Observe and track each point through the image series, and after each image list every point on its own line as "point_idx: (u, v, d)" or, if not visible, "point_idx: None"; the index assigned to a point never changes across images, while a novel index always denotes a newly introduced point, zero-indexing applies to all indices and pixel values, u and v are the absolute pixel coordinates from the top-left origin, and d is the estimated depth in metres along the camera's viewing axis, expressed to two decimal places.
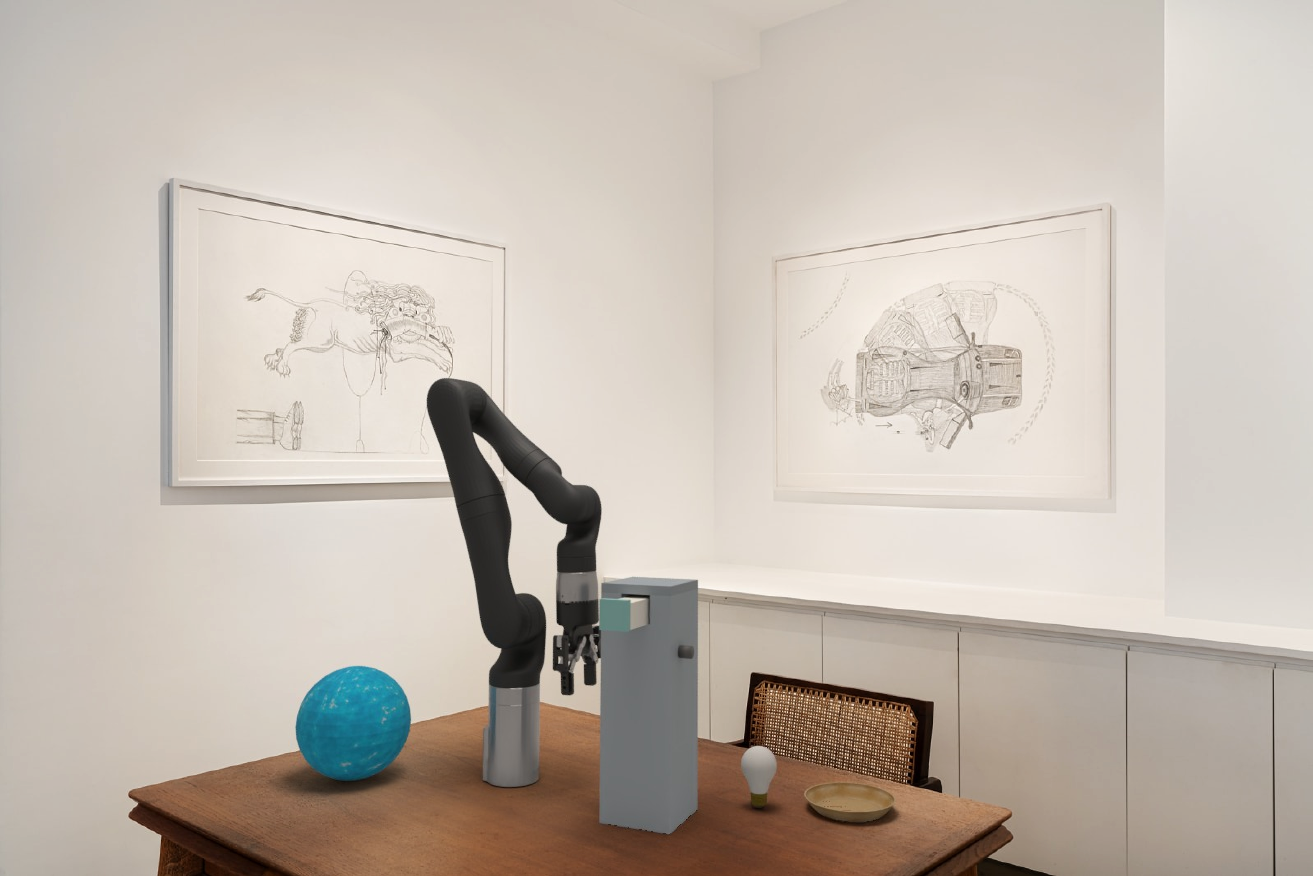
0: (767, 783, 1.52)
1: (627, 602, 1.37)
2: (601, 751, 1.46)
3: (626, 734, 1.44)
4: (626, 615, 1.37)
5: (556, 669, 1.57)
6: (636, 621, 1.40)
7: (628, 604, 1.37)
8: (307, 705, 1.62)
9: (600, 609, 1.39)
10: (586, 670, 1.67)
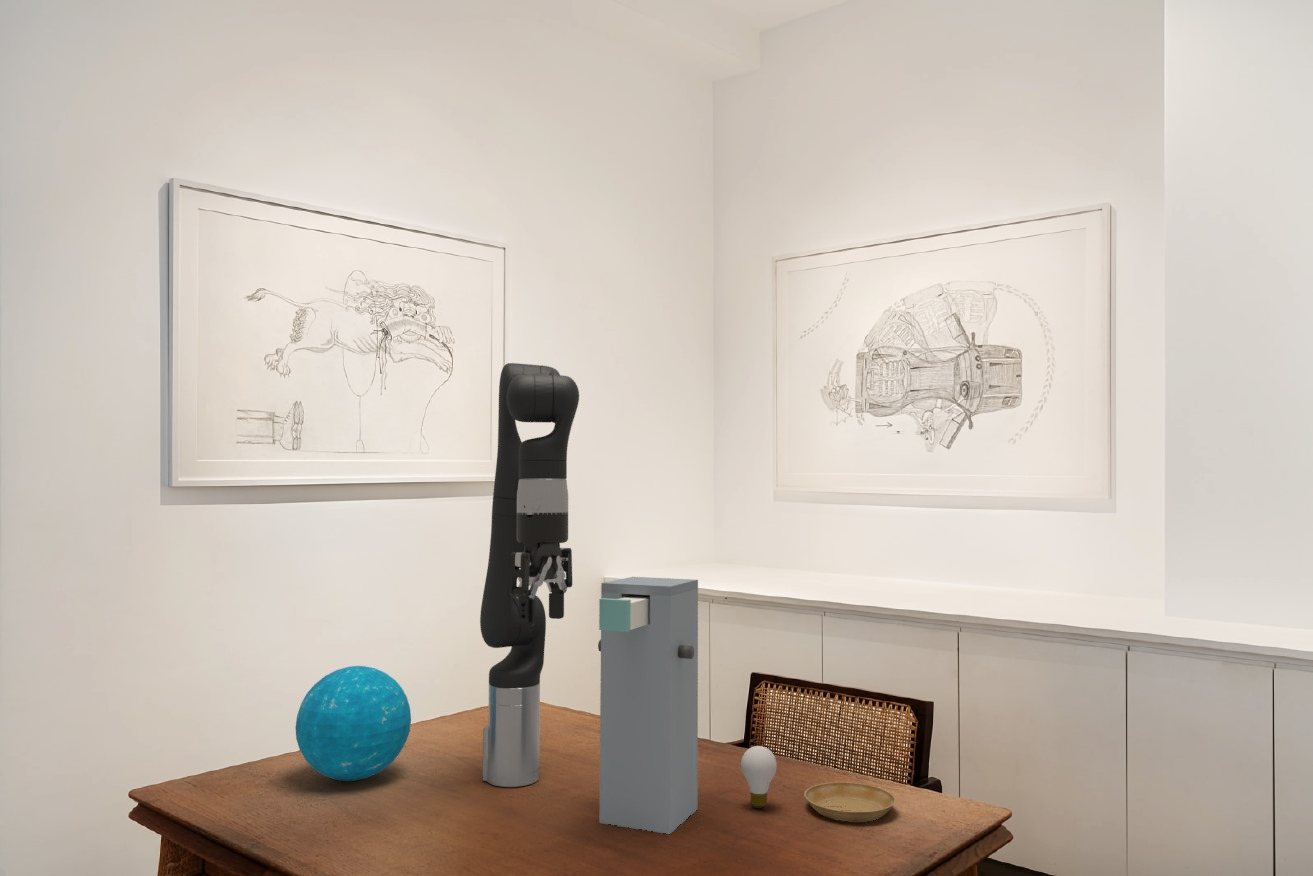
0: (767, 783, 1.52)
1: (627, 602, 1.37)
2: (601, 751, 1.46)
3: (626, 734, 1.44)
4: (626, 615, 1.37)
5: (513, 593, 1.28)
6: (636, 621, 1.40)
7: (628, 604, 1.37)
8: (307, 705, 1.62)
9: (600, 609, 1.39)
10: (552, 600, 1.38)
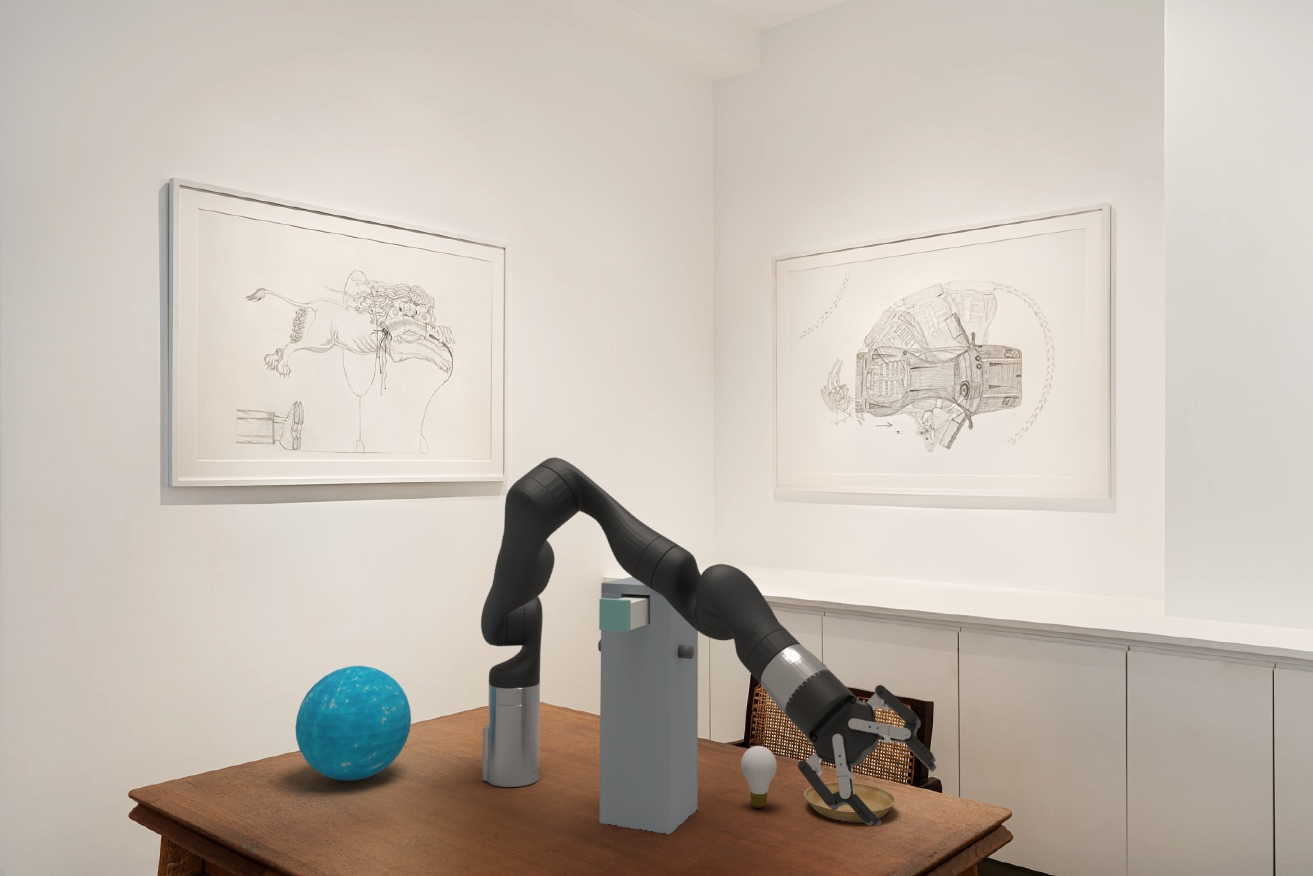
0: (767, 783, 1.52)
1: (627, 602, 1.37)
2: (601, 751, 1.46)
3: (626, 734, 1.44)
4: (626, 615, 1.37)
5: (831, 808, 1.04)
6: (636, 621, 1.40)
7: (628, 604, 1.37)
8: (307, 705, 1.62)
9: (600, 609, 1.39)
10: (914, 753, 1.04)
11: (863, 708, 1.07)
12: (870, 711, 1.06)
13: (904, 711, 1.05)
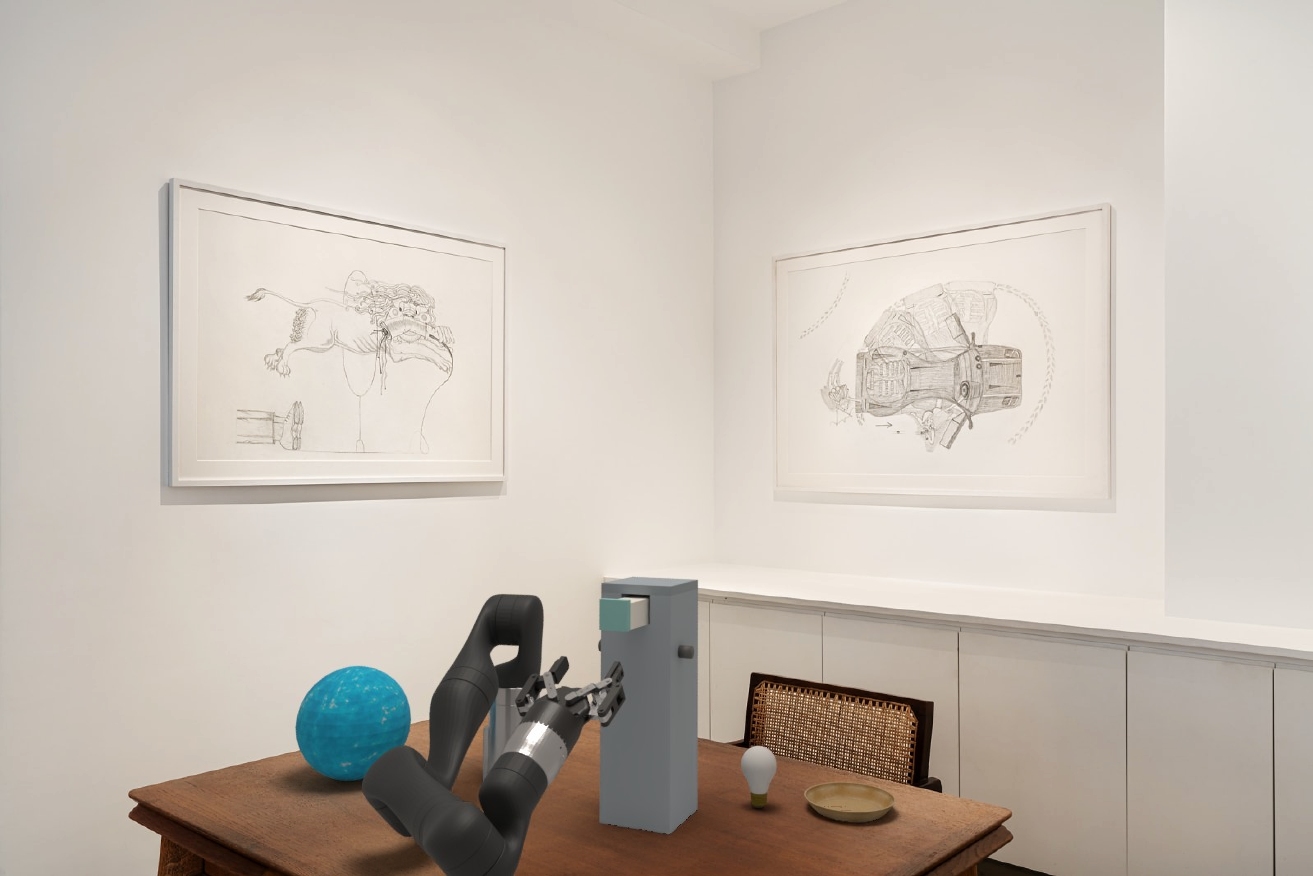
0: (767, 783, 1.52)
1: (627, 602, 1.37)
2: (601, 751, 1.46)
3: (626, 734, 1.44)
4: (626, 615, 1.37)
5: None
6: (636, 621, 1.40)
7: (628, 604, 1.37)
8: (307, 705, 1.62)
9: (600, 609, 1.39)
10: None
11: None
12: None
13: None
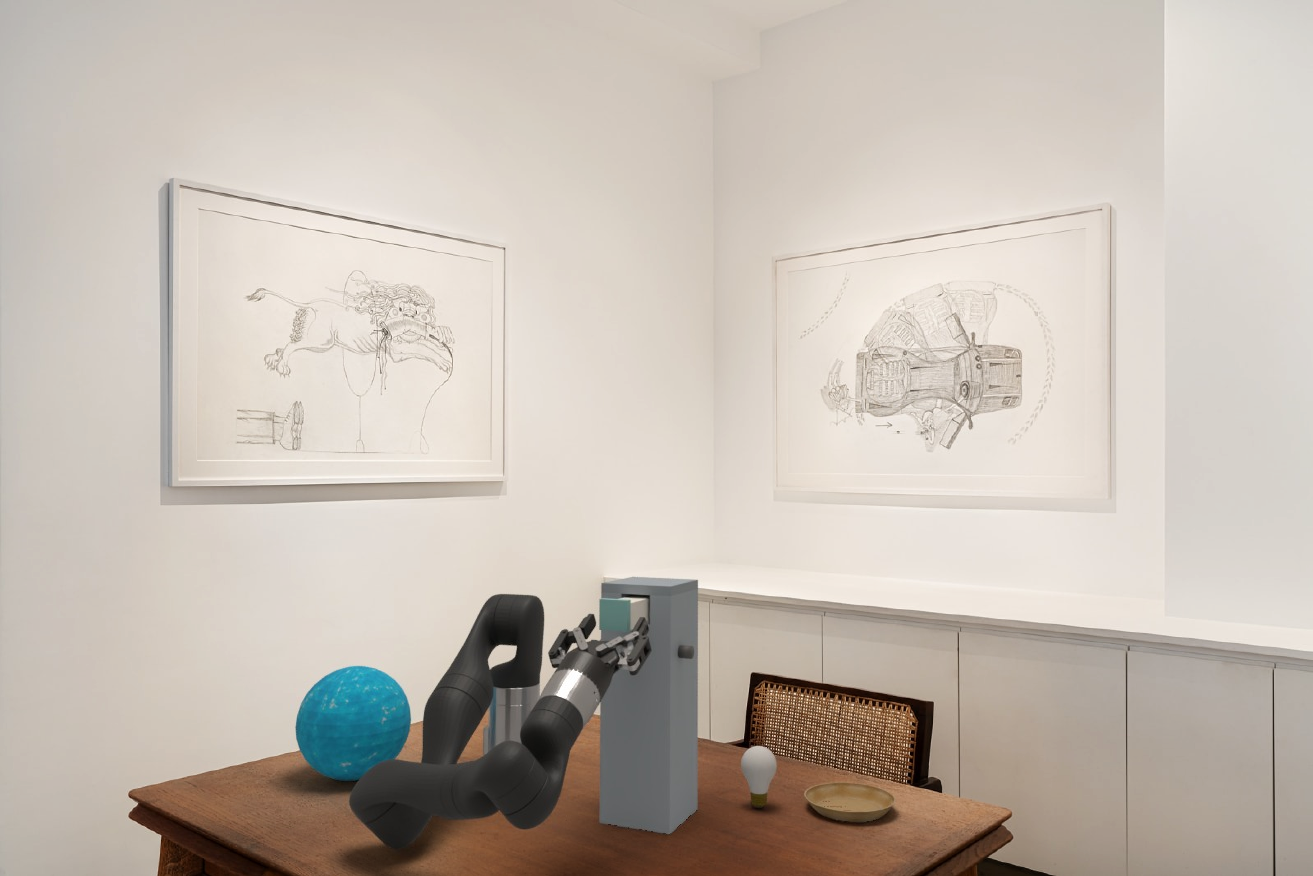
0: (767, 783, 1.52)
1: (627, 602, 1.37)
2: (601, 751, 1.46)
3: (626, 734, 1.44)
4: (626, 615, 1.37)
5: None
6: (636, 621, 1.40)
7: (628, 604, 1.37)
8: (307, 705, 1.62)
9: (600, 609, 1.39)
10: None
11: None
12: None
13: None
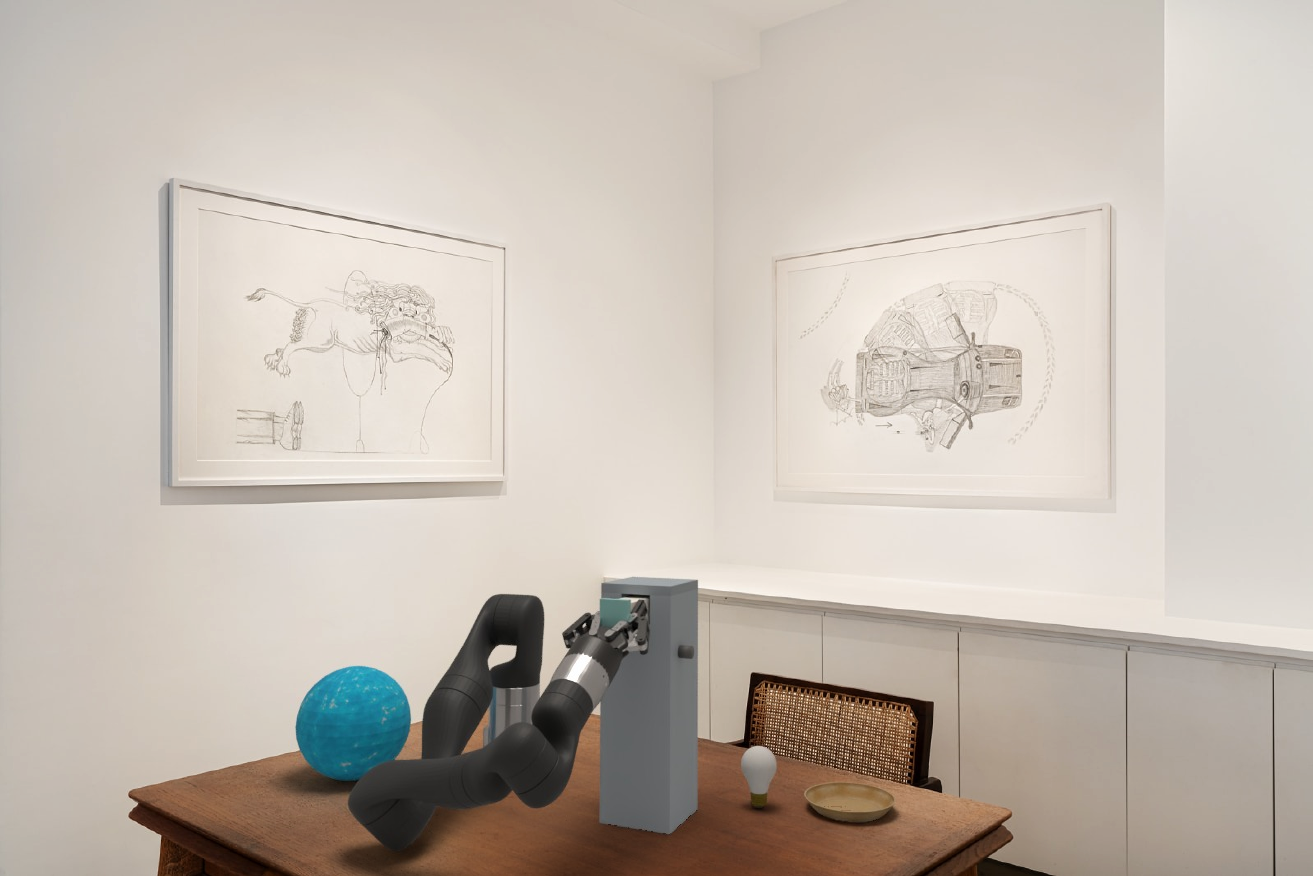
0: (767, 783, 1.52)
1: (628, 602, 1.37)
2: (601, 751, 1.46)
3: (626, 734, 1.44)
4: (626, 615, 1.37)
5: None
6: None
7: (628, 604, 1.37)
8: (307, 705, 1.62)
9: (600, 609, 1.39)
10: None
11: None
12: None
13: None
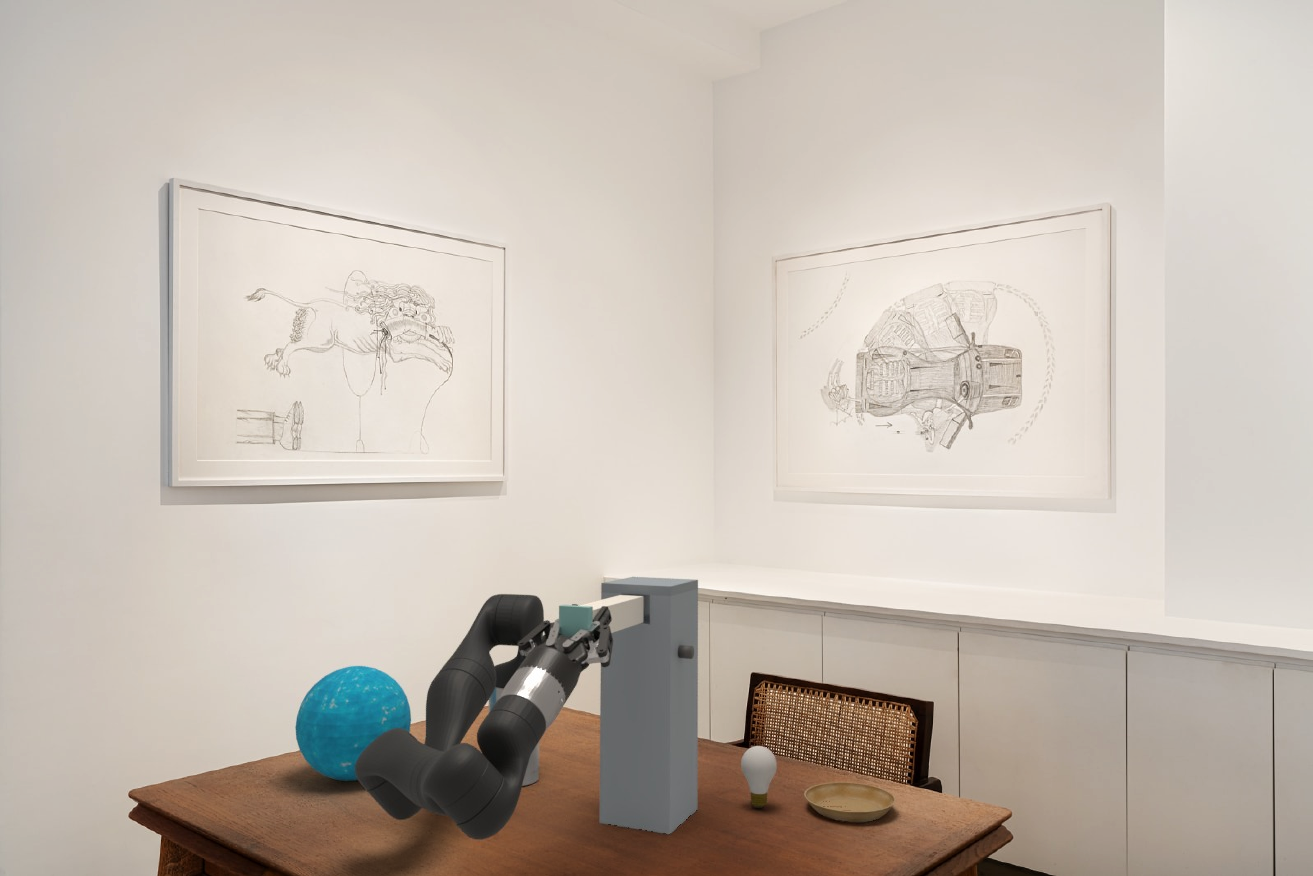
0: (767, 783, 1.52)
1: (589, 609, 1.26)
2: (601, 751, 1.46)
3: (626, 734, 1.44)
4: (587, 623, 1.26)
5: None
6: None
7: (590, 611, 1.26)
8: (307, 705, 1.62)
9: (560, 617, 1.27)
10: None
11: None
12: None
13: None
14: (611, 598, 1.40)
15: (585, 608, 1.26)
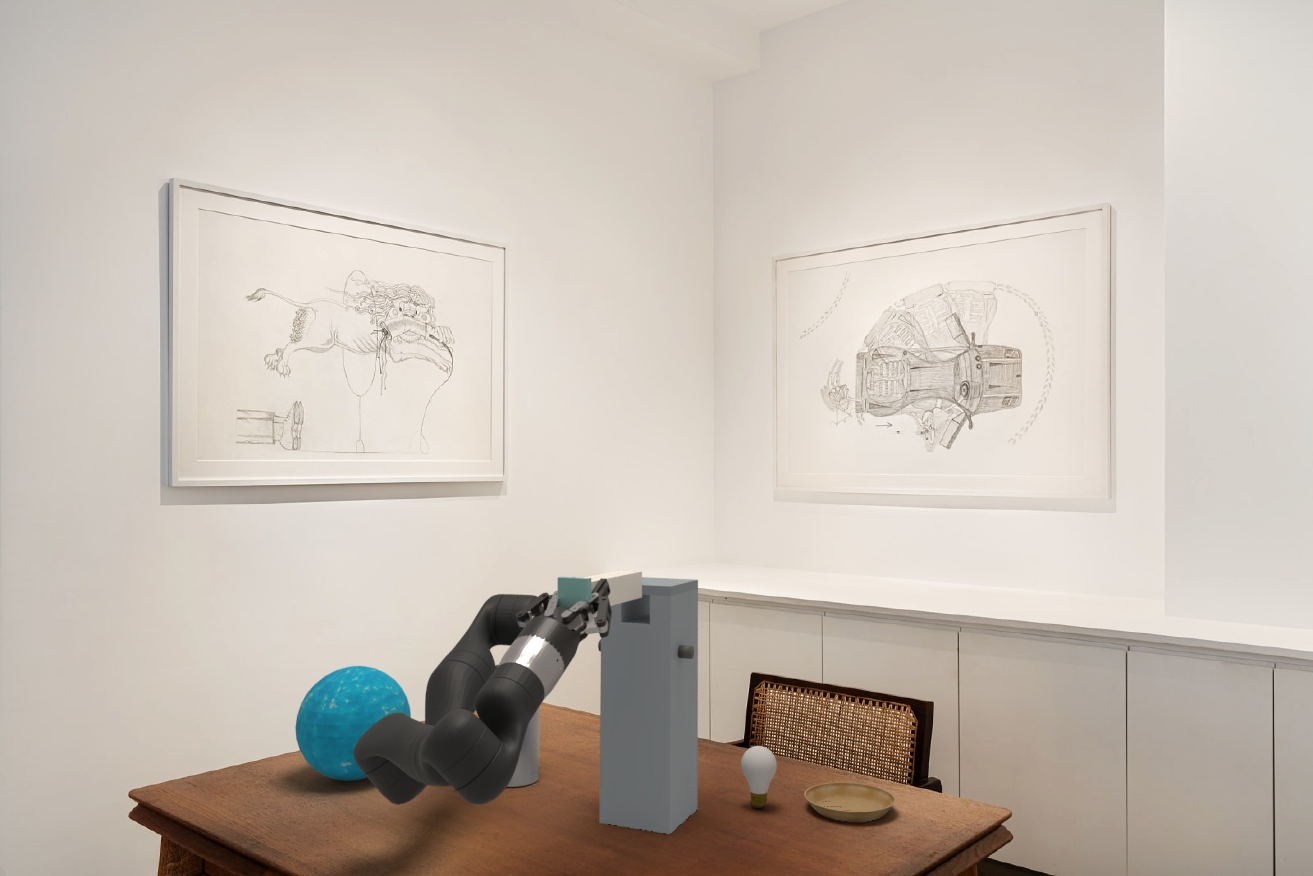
0: (767, 783, 1.52)
1: (588, 581, 1.25)
2: (601, 751, 1.46)
3: (626, 734, 1.44)
4: (586, 595, 1.25)
5: None
6: None
7: (588, 583, 1.26)
8: (307, 705, 1.62)
9: (558, 589, 1.27)
10: None
11: None
12: None
13: None
14: (610, 573, 1.40)
15: (584, 579, 1.25)
